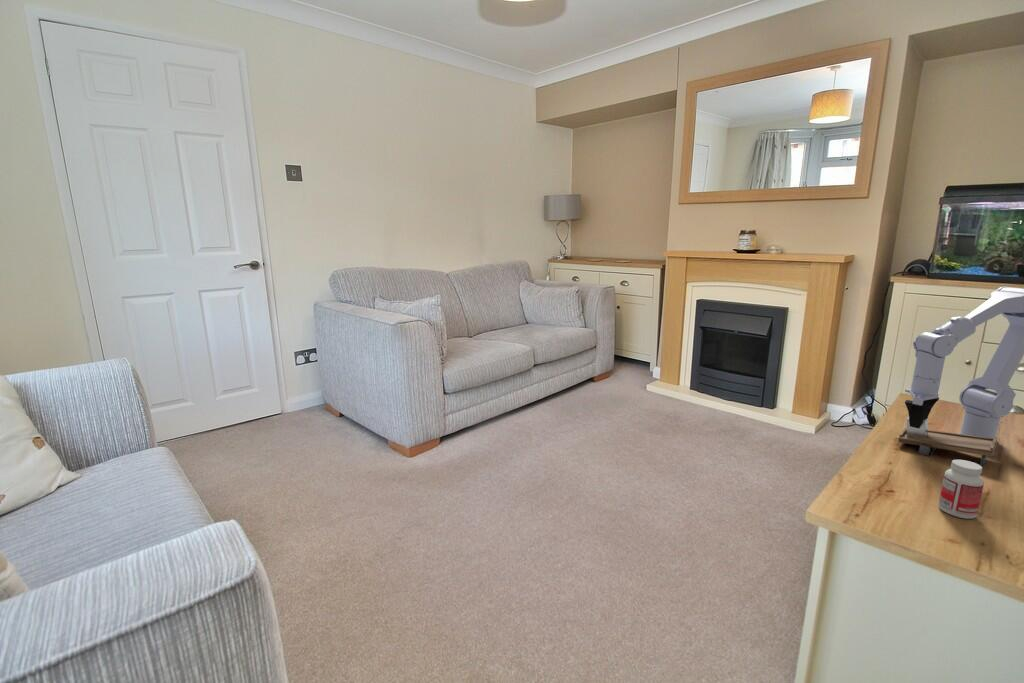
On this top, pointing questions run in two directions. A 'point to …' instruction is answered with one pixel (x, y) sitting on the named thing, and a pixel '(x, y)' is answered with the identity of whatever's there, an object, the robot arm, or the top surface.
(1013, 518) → the top surface
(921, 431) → the block
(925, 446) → the beam stand
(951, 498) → the pill bottle
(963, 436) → the balance beam
